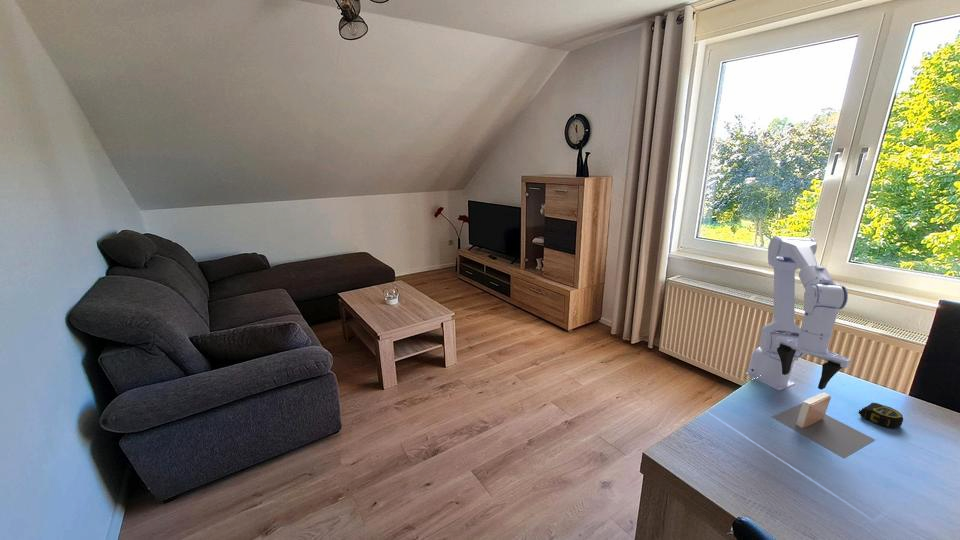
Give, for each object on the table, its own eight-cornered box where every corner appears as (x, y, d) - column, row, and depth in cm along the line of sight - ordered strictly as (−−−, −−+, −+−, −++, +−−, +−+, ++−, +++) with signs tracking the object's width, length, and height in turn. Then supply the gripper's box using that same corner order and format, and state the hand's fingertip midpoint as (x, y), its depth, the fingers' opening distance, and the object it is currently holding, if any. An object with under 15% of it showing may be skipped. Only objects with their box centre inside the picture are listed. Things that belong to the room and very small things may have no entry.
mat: (771, 418, 97) (771, 416, 97) (802, 404, 103) (803, 402, 102) (843, 459, 84) (844, 458, 84) (875, 441, 90) (875, 439, 89)
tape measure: (869, 410, 100) (873, 398, 99) (905, 427, 94) (910, 414, 93) (856, 417, 98) (860, 405, 97) (891, 435, 92) (896, 422, 91)
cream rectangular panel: (795, 424, 94) (803, 400, 92) (816, 414, 98) (823, 391, 96) (803, 428, 93) (811, 405, 91) (823, 418, 96) (831, 395, 94)
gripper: (774, 323, 97) (762, 371, 100) (847, 345, 85) (831, 399, 88) (787, 319, 100) (776, 365, 103) (860, 340, 88) (844, 392, 91)
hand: (802, 380), depth 96 cm, fingers open, 7 cm apart
